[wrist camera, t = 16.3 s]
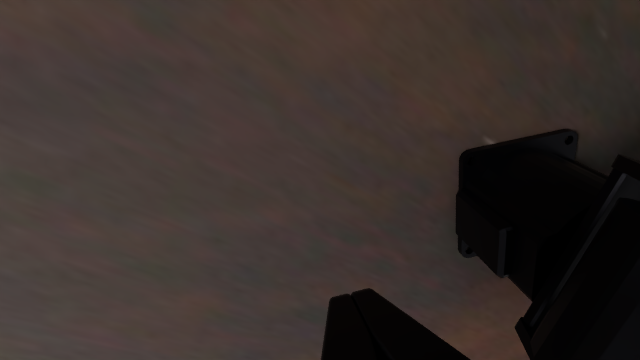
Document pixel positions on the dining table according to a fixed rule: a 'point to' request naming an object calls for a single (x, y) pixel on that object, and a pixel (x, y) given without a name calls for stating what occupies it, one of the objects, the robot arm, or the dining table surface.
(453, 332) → the dining table surface
